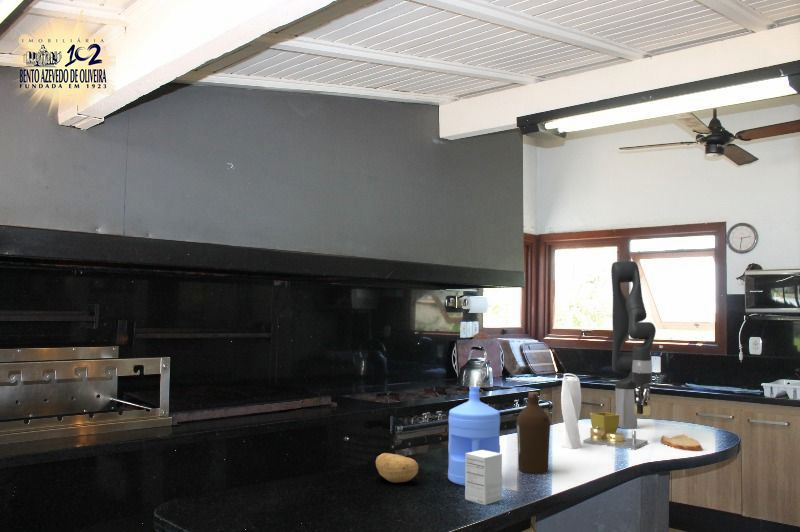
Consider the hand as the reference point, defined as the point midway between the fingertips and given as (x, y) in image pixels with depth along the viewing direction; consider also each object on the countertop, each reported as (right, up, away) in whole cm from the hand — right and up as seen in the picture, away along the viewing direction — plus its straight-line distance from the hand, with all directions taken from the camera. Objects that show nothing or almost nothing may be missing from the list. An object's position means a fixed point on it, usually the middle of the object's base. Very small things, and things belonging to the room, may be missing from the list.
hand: (642, 412), depth 285 cm
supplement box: (-76, -4, -94) cm, 121 cm away
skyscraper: (-34, -9, -19) cm, 40 cm away
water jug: (-76, -5, -73) cm, 106 cm away
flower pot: (-13, -11, +7) cm, 19 cm away
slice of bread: (+11, -11, -12) cm, 20 cm away
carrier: (-14, -10, -10) cm, 20 cm away
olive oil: (-56, -7, -58) cm, 81 cm away
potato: (-99, -5, -76) cm, 125 cm away
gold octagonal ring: (0, -1, 0) cm, 1 cm away
